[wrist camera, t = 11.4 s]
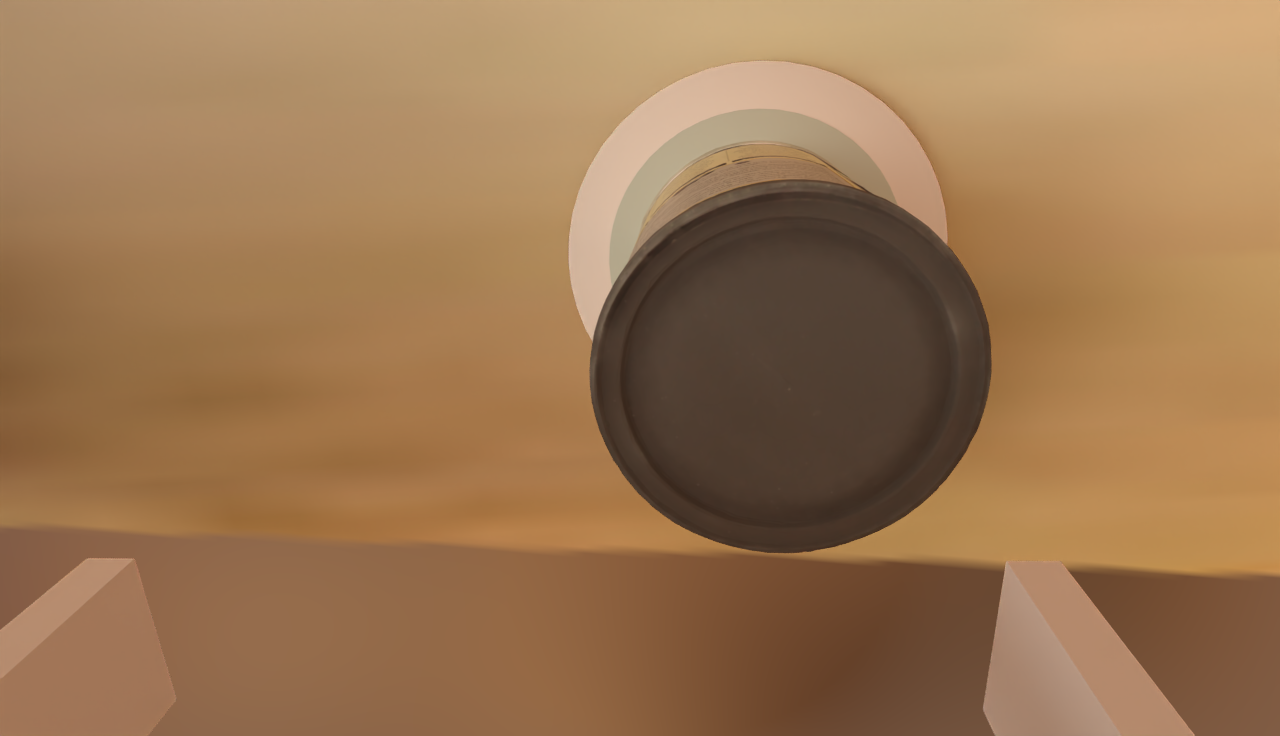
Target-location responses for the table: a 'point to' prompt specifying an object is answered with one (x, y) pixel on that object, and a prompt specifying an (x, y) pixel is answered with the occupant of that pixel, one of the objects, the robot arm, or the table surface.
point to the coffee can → (787, 354)
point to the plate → (726, 114)
